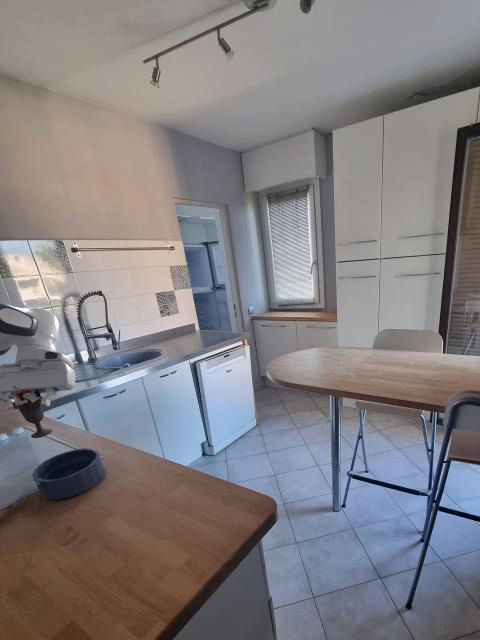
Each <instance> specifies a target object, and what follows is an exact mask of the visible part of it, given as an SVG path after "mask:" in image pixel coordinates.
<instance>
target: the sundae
mask: <svg viewBox="0 0 480 640" xmlns="http://www.w3.org/2000/svg"><path fill="white" fill-rule="evenodd" d="M15 387H16V386H14V387H12V388H15ZM16 388H17V387H16ZM16 388H15V389H16ZM18 389H19V388H18ZM20 390H22V389H20ZM16 391H17V389H16ZM41 399H44V396H42V395H41V393H40V392H39V391H38V390H37V389H36V391H35V393H34V392H32V391H26V390H22V391H21V393H18V392H17V394H16V399H14V401H15V402H14V403H13V404H12V405H13V406H14V407H17V408H18V409H17V410H18V411H19V412H20V414H21V415H22V417H23V418H24V420H25V421H26V422H27V423H30V424H33V425H34V426H35V428H36V431H35V432H33V433H32V434H31V436H30V438H32V439H40V438H44V437H47V436H49V435H50V434H51V433H53V429H51V428H43V426H42V424H41V422H42V421H43V420H44V417H45V412H44V407H43V406H41V405H40V402H41Z"/></svg>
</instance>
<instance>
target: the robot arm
mask: <svg viewBox="0 0 480 640" xmlns="http://www.w3.org/2000/svg"><path fill="white" fill-rule="evenodd" d="M59 340H60V321H59V319H58V317H57V316H56V314H54V313H53V312H52V311H50V310H47V309H45V308H42V307H35V306H33V307H27V308H25V307H23V308H22V307H17V306H16V307H15V306H14V305H10V304H7V303H3V302H0V356H3V355H5V354H7V353H8V352H9V351H10V350H11V348H12V347H13V346H15V347H17V350H16V355H15V361H14V363H6V364H5V363H4V364H3V363H2V364H0V398H4V399H6V401H7V409H8V410H10V411H16V410H17V411H18V410H19V409H18V408H17V407H14V406H13V405H12V404H13V403H14V402H15V399H16V398H17V397H16V394H17V392H18V393H21V391H22V390H26V391H32V392H34V393H35V391H36V389H37V390H38V391H39V392H40V394H46V395H45V396H44V397H43V398H42V399H41V402H40V405H41V406H42V408H44V407H45V408H47V407H50V406H51V401H52V400H53V399H54V398H55V397H56V395H57V392H66V391H71V390H73V389H74V388H75V385H76V372H75V369H74V368H75V363H74V362H73V361H72V360H71V359H70V358H69V357H68V356H66V355H65V354H64V353H62V352H59V351H57V347H58V345H59ZM14 386H16V387H17V388H16V387H15V388H16V389H17V391H16V389H15V388H12V387H14ZM18 388H19V389H18ZM20 389H22V390H20Z"/></svg>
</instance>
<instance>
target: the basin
mask: <svg viewBox="0 0 480 640" xmlns="http://www.w3.org/2000/svg"><path fill="white" fill-rule="evenodd" d="M105 475H106V468H105V465H104V462H103V459H102V456H101V454H100V452H99V451H98V450H97V449H95V448H90V447H89V448H86V447H85V448H76V449H71V450H68V451H64V452H61V453H59V454H56V455H53V456H52V457H50V458H48V459H46V460H45V461H43V462H41V463H40V464H39V465H38V466H37V467H36V468H35V469H34V470H33V471H32V474H31V477H32V479H33V481H34V483H35V485H36V487H37V489H38V491H39V494H40V495H41V497H42V498H43V499H46V500H53V501H55V500H63V499H67V498H71V497H74V496H78V495H80V494H82V493H84V492H86V491H88V490H90V489H91V488H93V487H94V486H96V485H97V484H98V483H100V481H102V480H103V478H104V477H105Z"/></svg>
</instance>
